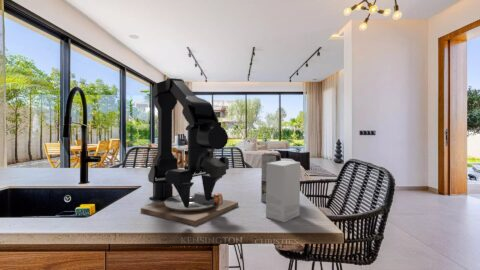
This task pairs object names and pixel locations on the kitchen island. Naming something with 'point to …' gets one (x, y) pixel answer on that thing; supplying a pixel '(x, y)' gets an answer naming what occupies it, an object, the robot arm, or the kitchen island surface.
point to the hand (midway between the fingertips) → (197, 203)
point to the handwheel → (194, 202)
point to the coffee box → (265, 159)
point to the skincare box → (282, 190)
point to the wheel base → (191, 216)
